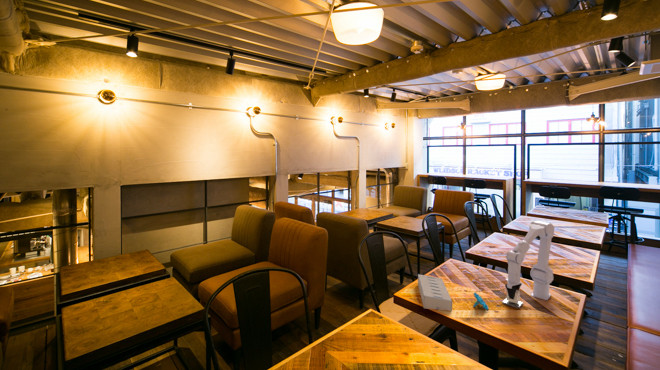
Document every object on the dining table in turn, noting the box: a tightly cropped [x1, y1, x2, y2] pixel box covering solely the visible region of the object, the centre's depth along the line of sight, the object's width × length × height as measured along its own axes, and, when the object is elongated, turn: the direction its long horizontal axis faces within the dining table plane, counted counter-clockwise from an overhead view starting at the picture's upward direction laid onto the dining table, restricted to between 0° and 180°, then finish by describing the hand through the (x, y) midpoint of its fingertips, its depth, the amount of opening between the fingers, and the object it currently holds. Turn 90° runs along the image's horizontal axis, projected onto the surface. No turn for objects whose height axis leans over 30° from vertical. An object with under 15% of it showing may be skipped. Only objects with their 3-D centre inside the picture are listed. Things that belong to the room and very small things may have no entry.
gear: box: [472, 292, 489, 311], centre depth 161 cm, size 11×6×10 cm
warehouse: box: [417, 273, 453, 312], centre depth 173 cm, size 30×14×8 cm, turn 169°
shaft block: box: [502, 297, 524, 310], centre depth 164 cm, size 8×8×6 cm
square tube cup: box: [506, 289, 521, 303], centre depth 163 cm, size 5×5×6 cm
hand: (513, 296), depth 163 cm, fingers closed on square tube cup, 5 cm apart
